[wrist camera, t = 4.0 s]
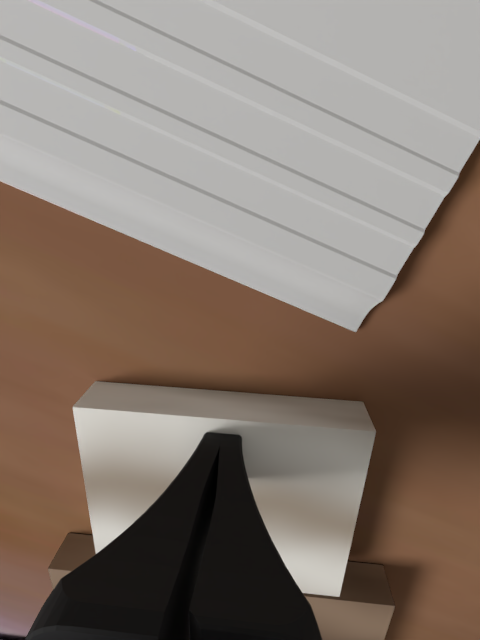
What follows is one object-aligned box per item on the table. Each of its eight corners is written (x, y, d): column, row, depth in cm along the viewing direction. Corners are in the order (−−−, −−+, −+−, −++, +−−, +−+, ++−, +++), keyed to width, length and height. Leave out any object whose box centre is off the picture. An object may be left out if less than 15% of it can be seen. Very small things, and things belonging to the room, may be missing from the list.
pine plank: (332, 555, 17) (339, 597, 16) (114, 533, 18) (98, 571, 16) (362, 401, 14) (376, 431, 12) (95, 380, 15) (72, 406, 13)
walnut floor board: (359, 647, 20) (367, 690, 18) (85, 615, 21) (68, 654, 19) (382, 564, 17) (395, 606, 16) (68, 532, 18) (47, 568, 16)
